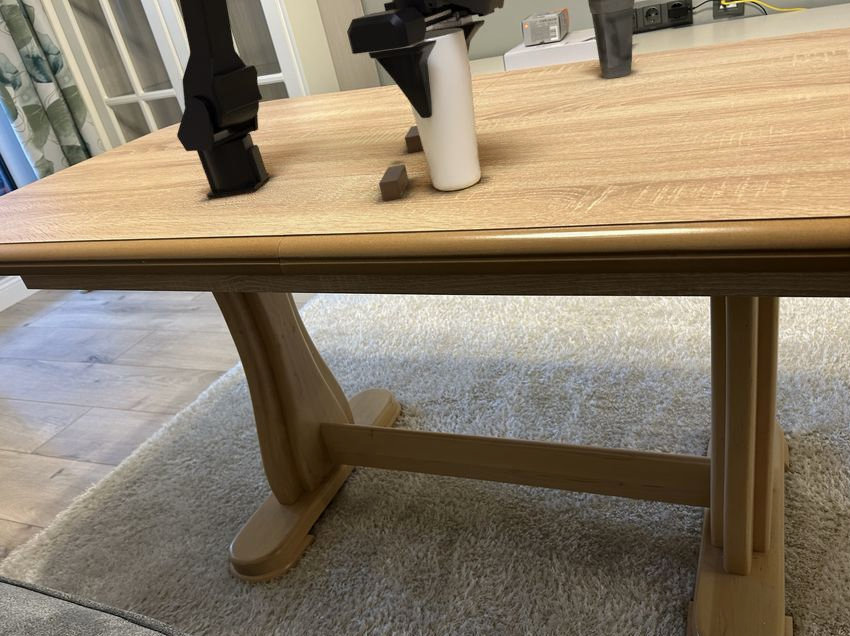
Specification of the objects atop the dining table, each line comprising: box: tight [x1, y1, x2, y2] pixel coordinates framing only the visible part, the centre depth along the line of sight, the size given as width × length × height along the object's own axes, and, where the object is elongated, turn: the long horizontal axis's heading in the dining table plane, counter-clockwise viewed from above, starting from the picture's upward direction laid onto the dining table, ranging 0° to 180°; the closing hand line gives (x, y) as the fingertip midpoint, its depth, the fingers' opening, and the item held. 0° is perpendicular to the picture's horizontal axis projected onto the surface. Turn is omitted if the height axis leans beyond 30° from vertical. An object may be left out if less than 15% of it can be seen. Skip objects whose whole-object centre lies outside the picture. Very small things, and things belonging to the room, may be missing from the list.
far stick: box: [404, 125, 424, 154], centre depth 94 cm, size 6×2×2 cm, turn 176°
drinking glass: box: [409, 28, 482, 192], centre depth 72 cm, size 7×7×15 cm
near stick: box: [378, 163, 410, 201], centre depth 78 cm, size 6×2×2 cm, turn 176°
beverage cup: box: [587, 0, 635, 79], centre depth 107 cm, size 7×7×20 cm
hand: (443, 108), depth 72 cm, fingers closed on drinking glass, 6 cm apart
